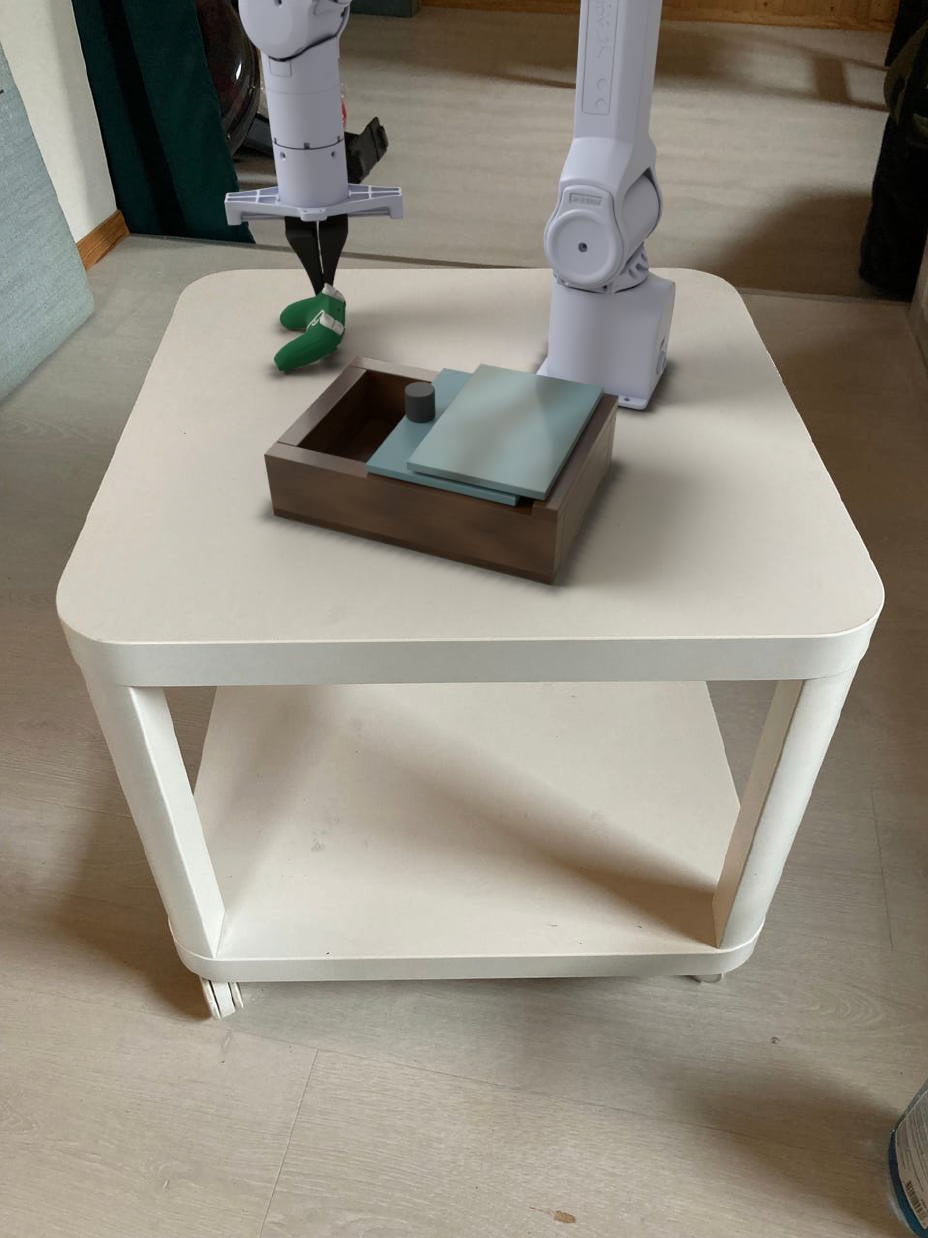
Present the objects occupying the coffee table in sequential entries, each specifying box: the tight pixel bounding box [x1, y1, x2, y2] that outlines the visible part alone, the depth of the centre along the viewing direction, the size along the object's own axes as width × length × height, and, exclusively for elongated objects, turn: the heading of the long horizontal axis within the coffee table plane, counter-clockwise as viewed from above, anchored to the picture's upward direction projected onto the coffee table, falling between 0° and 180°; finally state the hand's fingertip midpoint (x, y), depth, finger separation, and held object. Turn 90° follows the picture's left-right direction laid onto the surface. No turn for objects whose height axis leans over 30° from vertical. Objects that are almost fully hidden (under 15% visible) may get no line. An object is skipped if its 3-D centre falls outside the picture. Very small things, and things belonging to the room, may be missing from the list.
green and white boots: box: [273, 283, 347, 372], centre depth 83 cm, size 9×4×6 cm
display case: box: [263, 355, 619, 586], centre depth 67 cm, size 20×14×7 cm
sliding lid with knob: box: [366, 367, 521, 506], centre depth 64 cm, size 10×13×3 cm
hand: (325, 299), depth 87 cm, fingers closed
